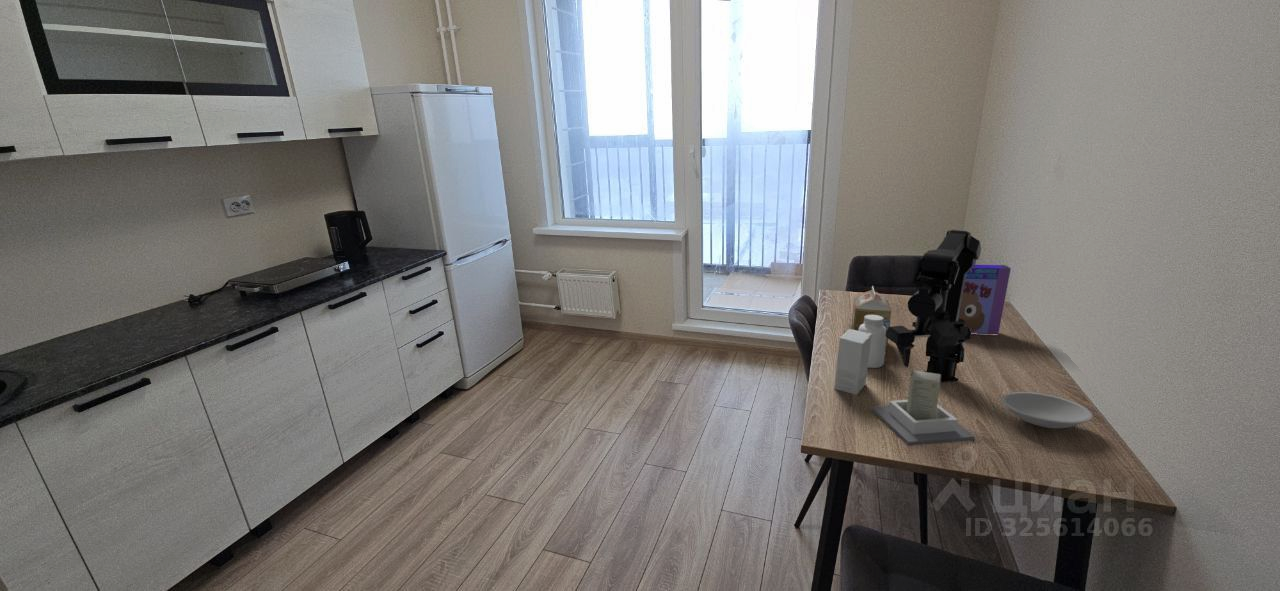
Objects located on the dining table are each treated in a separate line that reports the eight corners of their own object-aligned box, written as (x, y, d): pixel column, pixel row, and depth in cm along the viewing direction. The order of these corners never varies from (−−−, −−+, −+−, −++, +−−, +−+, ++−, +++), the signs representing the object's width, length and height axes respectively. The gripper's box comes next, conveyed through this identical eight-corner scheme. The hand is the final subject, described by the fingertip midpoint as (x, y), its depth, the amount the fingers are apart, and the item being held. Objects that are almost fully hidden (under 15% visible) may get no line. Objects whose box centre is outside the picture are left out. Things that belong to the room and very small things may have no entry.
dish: (1008, 435, 121) (1012, 416, 120) (989, 405, 134) (993, 388, 133) (1100, 447, 116) (1106, 427, 114) (1071, 415, 129) (1076, 396, 127)
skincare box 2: (935, 420, 126) (942, 374, 123) (933, 428, 123) (941, 381, 119) (906, 413, 130) (912, 368, 126) (904, 421, 126) (910, 375, 122)
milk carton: (850, 337, 181) (855, 284, 175) (883, 340, 177) (889, 286, 172) (851, 349, 171) (856, 293, 166) (886, 352, 168) (893, 296, 162)
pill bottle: (857, 356, 165) (862, 311, 161) (885, 361, 162) (890, 315, 157) (853, 365, 159) (857, 319, 155) (881, 370, 155) (887, 323, 151)
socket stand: (930, 406, 135) (932, 392, 134) (974, 440, 119) (977, 425, 118) (871, 410, 133) (872, 396, 132) (908, 445, 118) (910, 430, 117)
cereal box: (942, 333, 182) (953, 266, 175) (937, 329, 186) (947, 263, 179) (997, 336, 179) (1010, 267, 171) (991, 331, 183) (1003, 264, 176)
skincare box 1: (843, 378, 151) (848, 328, 146) (867, 384, 147) (873, 333, 142) (833, 389, 145) (838, 337, 140) (857, 396, 141) (863, 342, 136)
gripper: (915, 320, 116) (907, 383, 121) (993, 314, 118) (982, 376, 123) (887, 304, 127) (881, 362, 132) (959, 298, 129) (950, 356, 133)
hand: (923, 364), depth 130 cm, fingers open, 9 cm apart
